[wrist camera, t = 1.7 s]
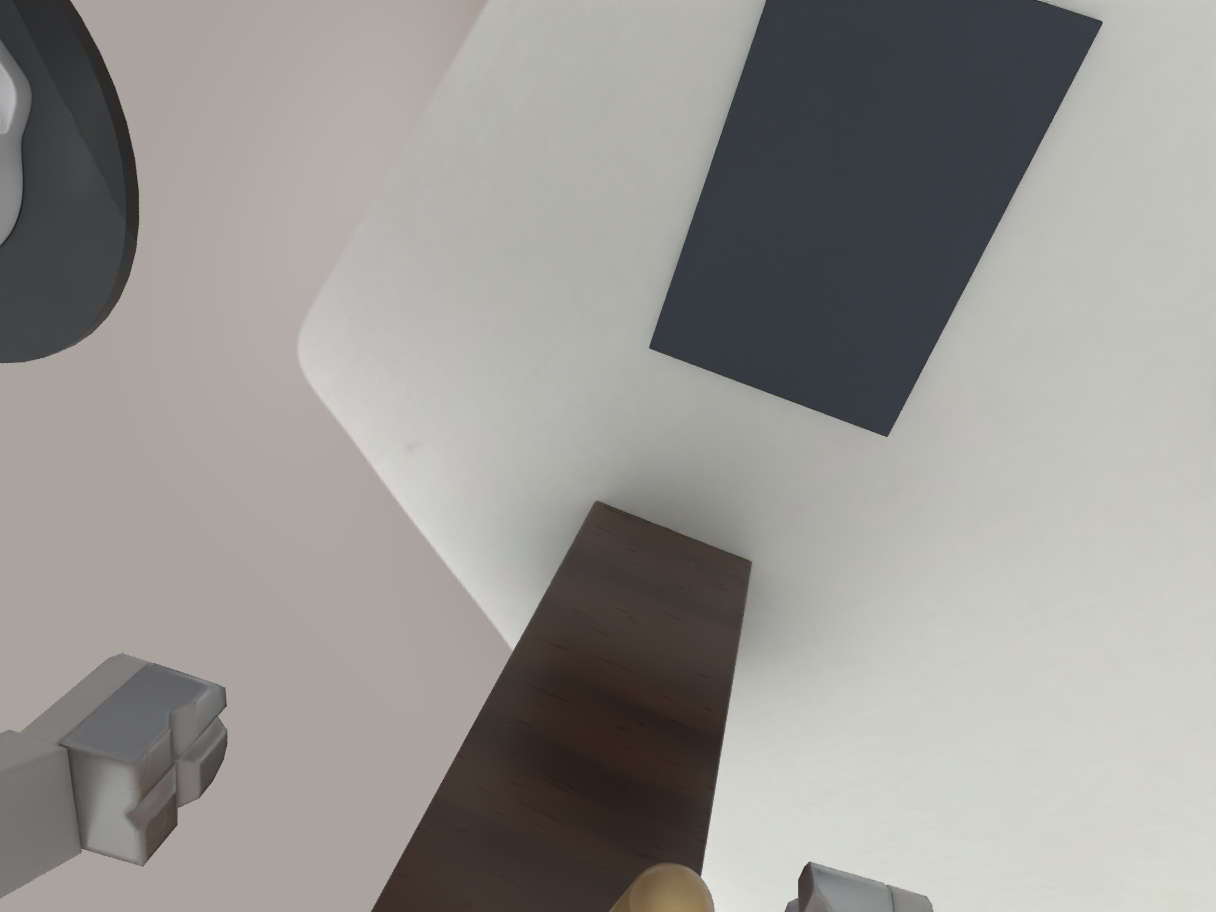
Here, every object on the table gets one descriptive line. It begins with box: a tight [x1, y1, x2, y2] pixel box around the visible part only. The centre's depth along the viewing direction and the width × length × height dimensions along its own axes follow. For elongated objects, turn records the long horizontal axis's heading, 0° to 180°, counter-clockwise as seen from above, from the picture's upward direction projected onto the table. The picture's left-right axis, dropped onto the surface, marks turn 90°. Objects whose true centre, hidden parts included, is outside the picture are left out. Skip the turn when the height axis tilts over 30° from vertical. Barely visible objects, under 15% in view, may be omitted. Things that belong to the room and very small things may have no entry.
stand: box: [371, 502, 752, 912], centre depth 35 cm, size 8×9×26 cm
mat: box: [649, 0, 1103, 437], centre depth 35 cm, size 18×12×1 cm, turn 163°
